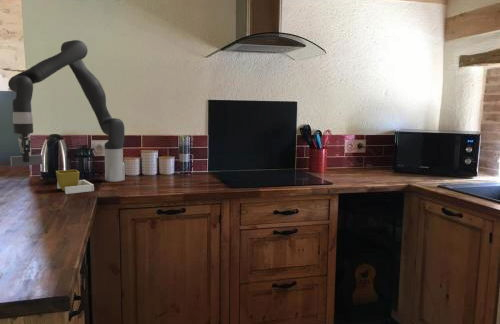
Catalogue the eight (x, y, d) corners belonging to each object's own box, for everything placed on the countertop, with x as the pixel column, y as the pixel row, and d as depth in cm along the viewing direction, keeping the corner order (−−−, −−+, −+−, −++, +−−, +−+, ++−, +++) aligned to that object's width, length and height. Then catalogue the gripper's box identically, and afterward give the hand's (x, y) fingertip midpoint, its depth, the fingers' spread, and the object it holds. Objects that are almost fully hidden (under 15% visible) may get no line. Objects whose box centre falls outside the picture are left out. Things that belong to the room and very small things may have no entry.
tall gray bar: (41, 163, 185) (40, 154, 185) (42, 164, 183) (42, 155, 183) (10, 165, 178) (10, 156, 177) (12, 166, 176) (11, 157, 175)
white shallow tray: (84, 185, 203) (84, 179, 203) (93, 190, 192) (93, 184, 191) (57, 188, 196) (57, 182, 195) (65, 193, 184) (65, 187, 184)
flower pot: (60, 192, 186) (59, 173, 185) (56, 189, 193) (55, 170, 192) (80, 190, 191) (79, 171, 190) (76, 187, 198) (75, 169, 197)
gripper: (36, 123, 175) (38, 162, 177) (29, 121, 185) (31, 159, 188) (16, 123, 170) (18, 164, 172) (10, 121, 181) (13, 160, 183)
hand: (25, 161), depth 180 cm, fingers closed on tall gray bar, 3 cm apart
